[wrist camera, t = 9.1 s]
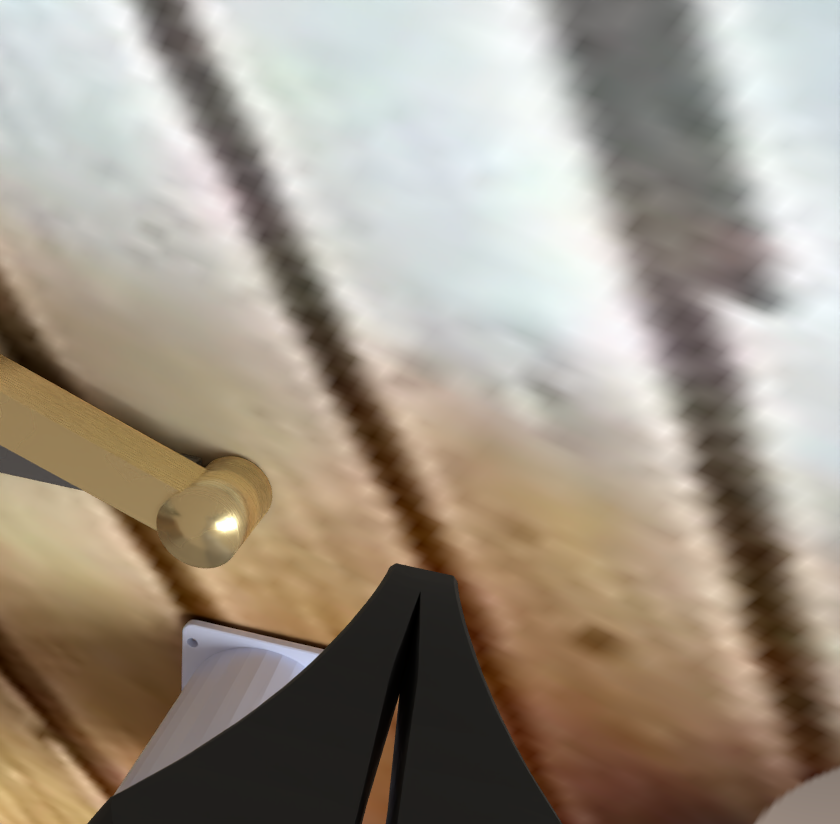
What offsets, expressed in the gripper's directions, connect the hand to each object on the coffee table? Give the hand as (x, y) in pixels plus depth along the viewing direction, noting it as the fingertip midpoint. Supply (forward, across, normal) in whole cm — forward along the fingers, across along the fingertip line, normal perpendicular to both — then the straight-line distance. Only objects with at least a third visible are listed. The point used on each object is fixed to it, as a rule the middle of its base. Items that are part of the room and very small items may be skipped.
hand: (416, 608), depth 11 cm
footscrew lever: (+9, +13, +2) cm, 16 cm away
